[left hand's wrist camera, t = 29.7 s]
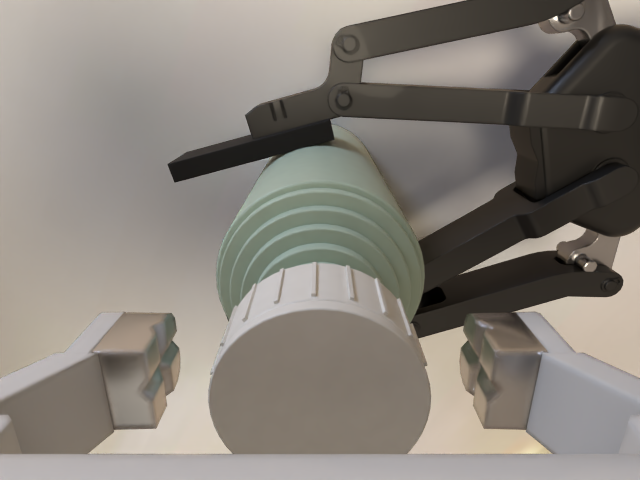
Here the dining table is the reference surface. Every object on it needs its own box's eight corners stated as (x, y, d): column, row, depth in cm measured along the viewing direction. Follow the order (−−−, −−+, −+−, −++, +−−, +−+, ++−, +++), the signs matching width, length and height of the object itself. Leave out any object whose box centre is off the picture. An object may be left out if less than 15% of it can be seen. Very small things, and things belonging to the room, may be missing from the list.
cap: (424, 262, 9) (449, 309, 7) (404, 422, 11) (421, 493, 9) (222, 256, 9) (198, 302, 7) (230, 417, 11) (212, 487, 9)
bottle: (392, 191, 26) (521, 411, 9) (306, 244, 27) (282, 524, 10) (336, 101, 24) (371, 170, 7) (247, 161, 25) (103, 339, 9)
